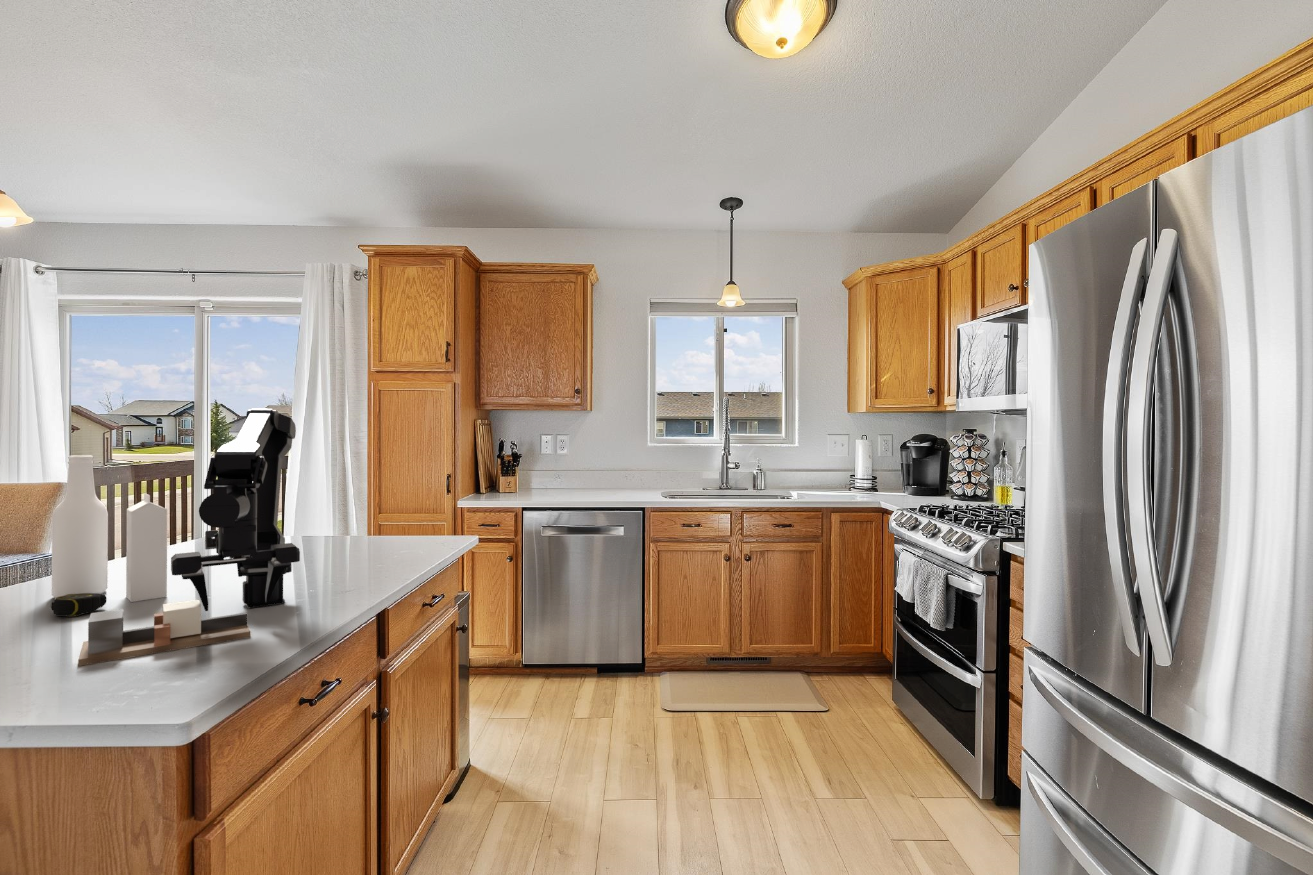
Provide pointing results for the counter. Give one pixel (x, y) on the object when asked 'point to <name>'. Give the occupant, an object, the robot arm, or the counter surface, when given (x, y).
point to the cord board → (152, 636)
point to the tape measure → (77, 604)
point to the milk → (146, 551)
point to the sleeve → (183, 618)
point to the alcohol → (80, 534)
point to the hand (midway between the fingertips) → (237, 606)
